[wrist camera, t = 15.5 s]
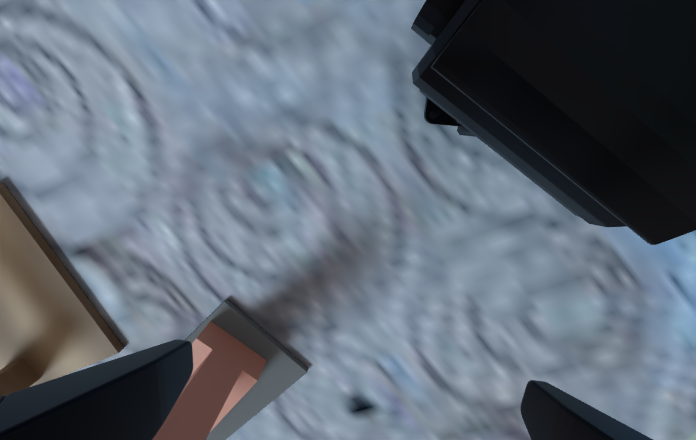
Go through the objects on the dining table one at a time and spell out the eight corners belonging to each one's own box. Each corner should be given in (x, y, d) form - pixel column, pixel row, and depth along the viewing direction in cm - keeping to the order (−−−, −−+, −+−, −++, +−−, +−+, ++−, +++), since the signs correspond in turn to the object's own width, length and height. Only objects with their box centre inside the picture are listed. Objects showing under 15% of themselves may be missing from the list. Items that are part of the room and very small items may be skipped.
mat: (226, 298, 23) (224, 301, 23) (308, 368, 25) (307, 372, 24) (134, 390, 26) (131, 394, 26) (211, 448, 27) (209, 452, 27)
